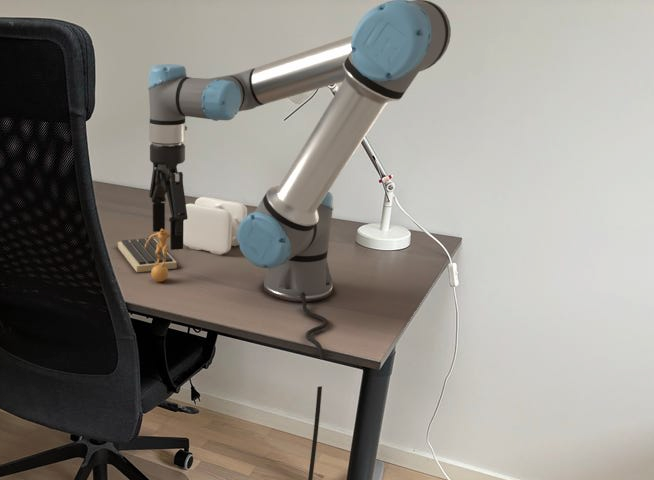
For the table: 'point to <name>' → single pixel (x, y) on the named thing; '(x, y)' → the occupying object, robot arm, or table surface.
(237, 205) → the cable organizer
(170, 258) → the keyboard
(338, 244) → the table surface
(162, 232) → the figurine
